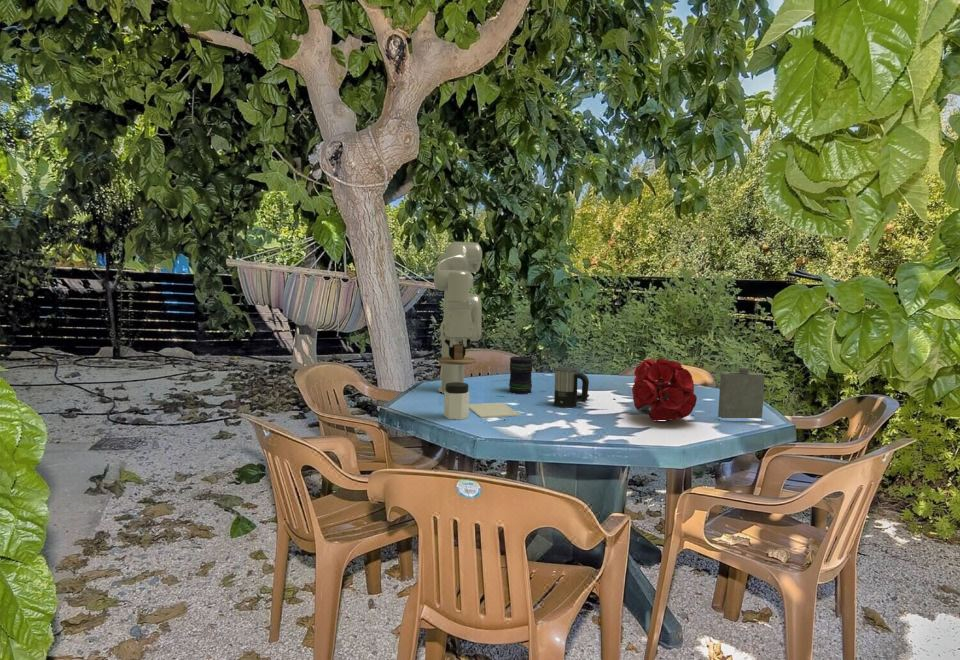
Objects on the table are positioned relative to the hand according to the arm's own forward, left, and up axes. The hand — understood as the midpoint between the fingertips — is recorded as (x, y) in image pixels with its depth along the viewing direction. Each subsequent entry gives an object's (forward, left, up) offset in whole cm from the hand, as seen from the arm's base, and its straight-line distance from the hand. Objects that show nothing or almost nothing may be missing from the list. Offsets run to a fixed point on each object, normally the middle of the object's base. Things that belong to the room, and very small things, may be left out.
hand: (457, 357), depth 219 cm
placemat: (-7, +16, -22) cm, 28 cm away
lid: (0, 0, -2) cm, 2 cm away
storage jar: (-38, +39, -22) cm, 59 cm away
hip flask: (+26, +101, -22) cm, 107 cm away
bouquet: (+16, +73, -22) cm, 78 cm away
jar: (0, 0, -22) cm, 22 cm away
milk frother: (-12, +51, -22) cm, 57 cm away
